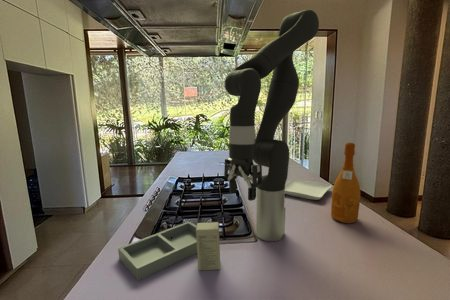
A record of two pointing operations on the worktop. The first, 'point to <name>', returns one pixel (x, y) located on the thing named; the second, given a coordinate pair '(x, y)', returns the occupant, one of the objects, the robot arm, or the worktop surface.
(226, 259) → the worktop surface
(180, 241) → the carton tray
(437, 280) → the worktop surface
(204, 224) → the skincare box
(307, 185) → the salad plate
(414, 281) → the worktop surface
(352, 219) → the wine bottle
